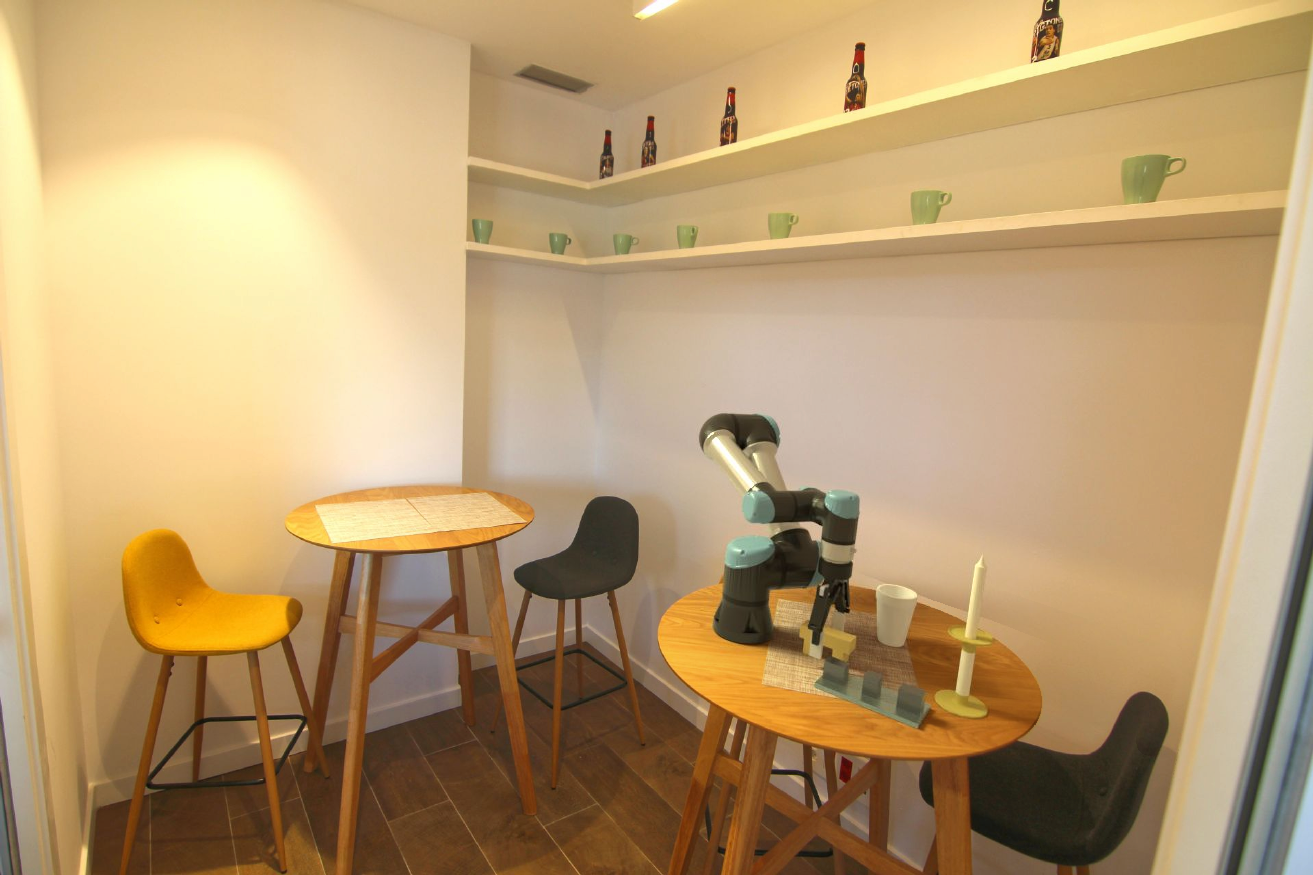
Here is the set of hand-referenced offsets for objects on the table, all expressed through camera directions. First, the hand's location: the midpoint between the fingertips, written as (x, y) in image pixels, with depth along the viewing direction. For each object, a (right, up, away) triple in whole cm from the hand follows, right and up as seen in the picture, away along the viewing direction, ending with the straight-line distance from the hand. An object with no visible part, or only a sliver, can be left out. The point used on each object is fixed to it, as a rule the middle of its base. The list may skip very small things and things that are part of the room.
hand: (826, 647), depth 143 cm
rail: (+5, -5, -16) cm, 17 cm away
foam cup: (+19, -2, +11) cm, 22 cm away
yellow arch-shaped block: (0, -2, 0) cm, 2 cm away
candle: (+23, -7, -16) cm, 29 cm away
